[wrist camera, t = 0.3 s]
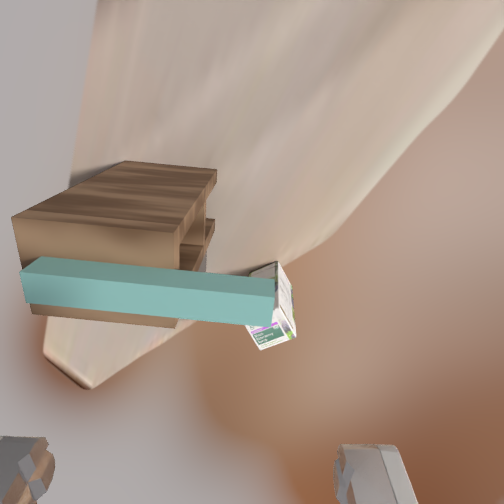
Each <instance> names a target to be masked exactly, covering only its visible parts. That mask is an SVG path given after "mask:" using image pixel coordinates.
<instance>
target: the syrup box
mask: <svg viewBox="0 0 504 504" xmlns="http://www.w3.org/2000/svg"><path fill="white" fill-rule="evenodd" d="M249 277H255V278H266V279H275V300H274V308H273V316H272V323H271V327H261V326H251V325H245V327H246V328H247V330H248V332H249V333H250V335H251V337H252V338H253V340H254V342H255V343H256V345H257V346H258V348H259V349H260V350H262V349H265V348H268V347H271V346H273V345H276V344H278V343H281V342H284V341H287V340H290V339H293V338H296V327H295V316H294V305H293V292H292V286H291V284H290V282H289V280H288V279H287V277H286V275H285V273H284V271H283V269H282V267H281V265H280V264H279V262H278V261H277V262H274V263H272V264H270V265H267V266H265V267H263V268H260V269H258V270H256V271H253V272H251V273H249Z"/></svg>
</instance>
